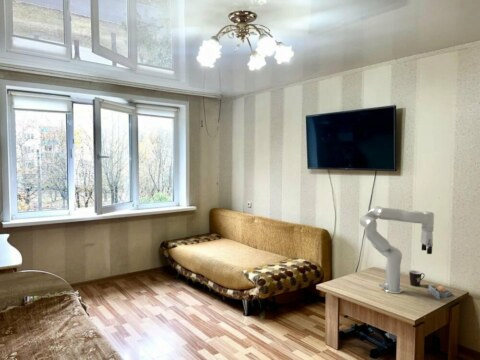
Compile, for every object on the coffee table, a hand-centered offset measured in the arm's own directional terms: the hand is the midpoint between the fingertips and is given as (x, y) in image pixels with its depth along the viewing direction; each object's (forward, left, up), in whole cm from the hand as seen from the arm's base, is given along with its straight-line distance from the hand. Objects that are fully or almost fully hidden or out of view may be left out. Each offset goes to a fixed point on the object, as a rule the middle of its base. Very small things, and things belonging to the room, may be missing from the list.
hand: (426, 252), depth 250 cm
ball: (+9, -6, -25) cm, 27 cm away
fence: (+3, -8, -28) cm, 30 cm away
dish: (+9, -6, -28) cm, 30 cm away
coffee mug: (-2, +10, -28) cm, 30 cm away
